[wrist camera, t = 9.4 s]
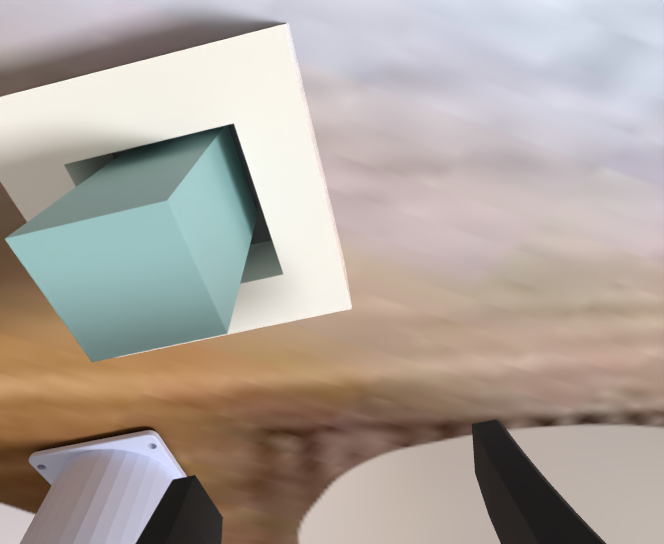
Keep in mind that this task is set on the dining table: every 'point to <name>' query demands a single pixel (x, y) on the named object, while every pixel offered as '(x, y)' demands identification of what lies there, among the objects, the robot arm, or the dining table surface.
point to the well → (186, 118)
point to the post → (146, 246)
